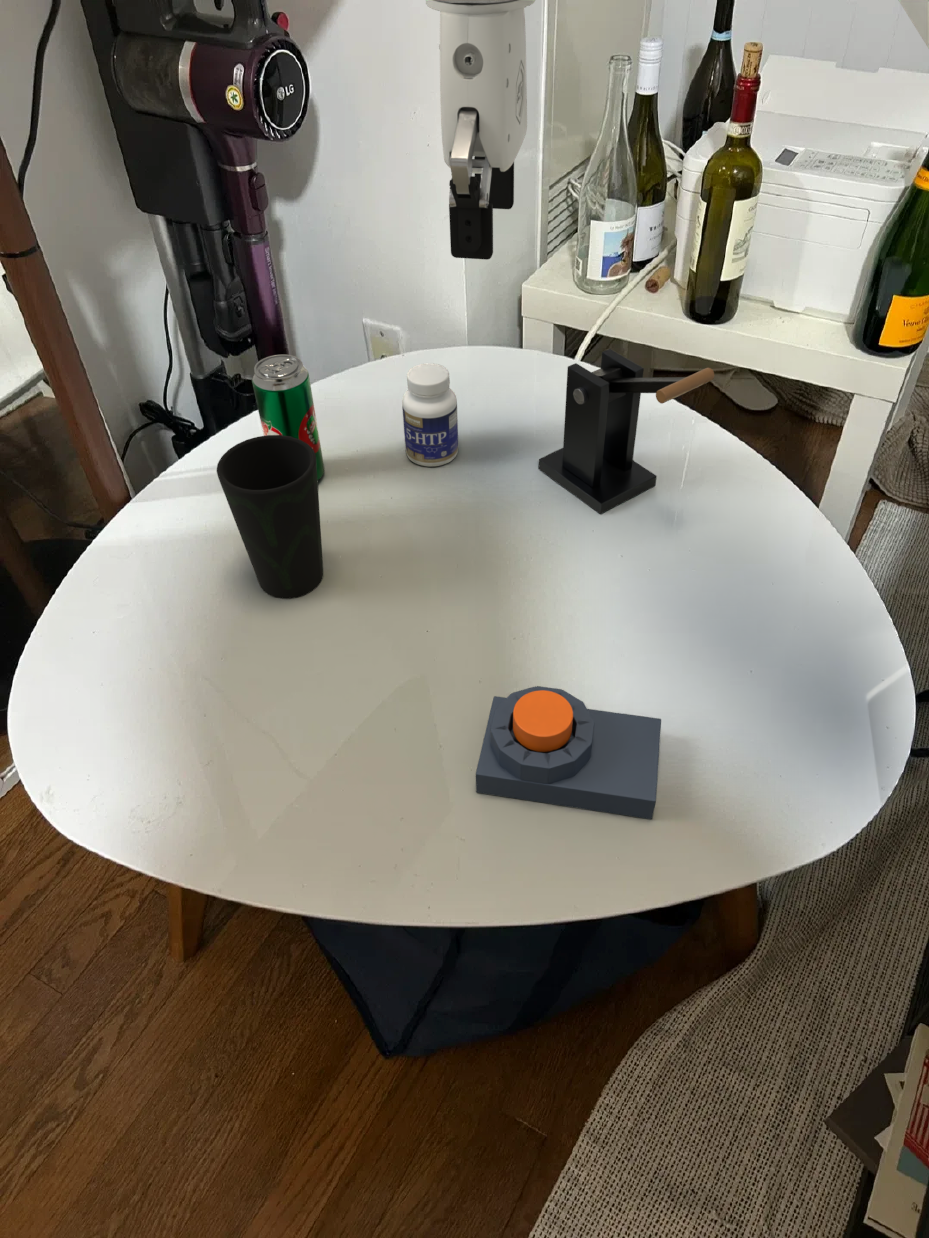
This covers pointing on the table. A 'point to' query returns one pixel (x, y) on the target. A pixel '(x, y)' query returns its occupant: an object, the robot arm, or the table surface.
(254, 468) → the cup
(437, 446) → the pill bottle
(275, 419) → the soda can
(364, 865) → the table surface
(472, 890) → the table surface
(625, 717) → the control block
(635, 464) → the switch bracket
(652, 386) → the lever
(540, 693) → the button
